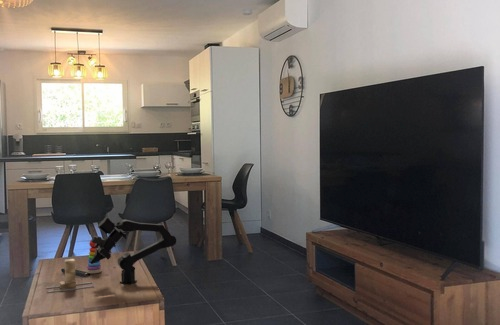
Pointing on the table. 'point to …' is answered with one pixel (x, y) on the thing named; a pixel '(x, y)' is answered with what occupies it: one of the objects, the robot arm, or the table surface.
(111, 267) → the table surface
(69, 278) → the stepped wooden block
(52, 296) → the table surface
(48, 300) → the table surface
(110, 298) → the table surface
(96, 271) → the stacking toy
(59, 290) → the track
